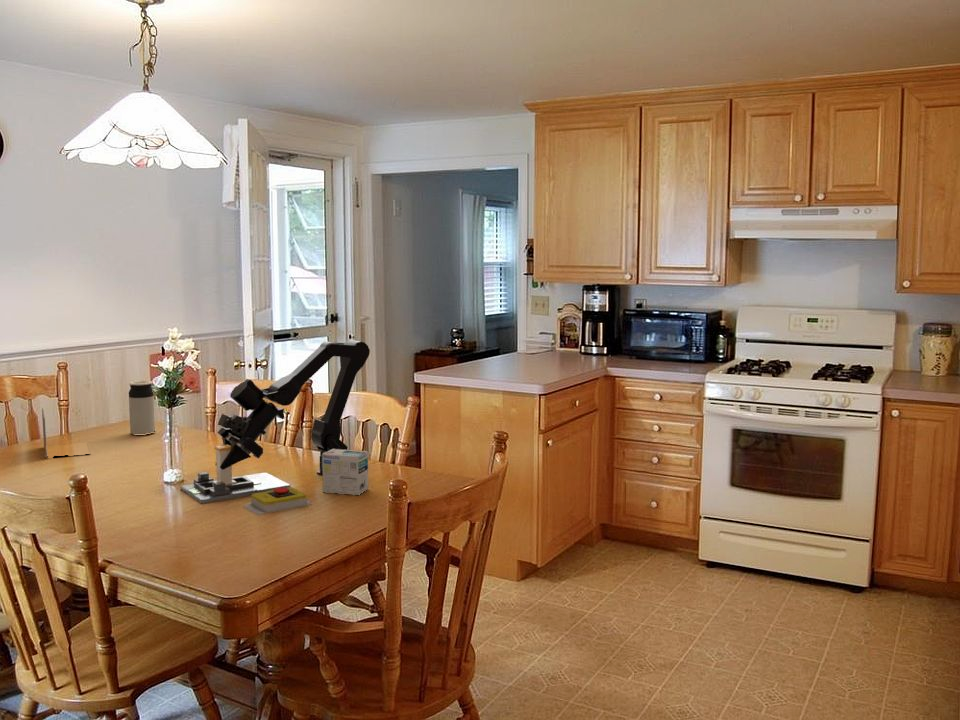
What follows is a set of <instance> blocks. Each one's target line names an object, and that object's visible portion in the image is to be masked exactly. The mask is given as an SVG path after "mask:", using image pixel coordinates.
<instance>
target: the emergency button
mask: <svg viewBox="0 0 960 720" xmlns="http://www.w3.org/2000/svg"><path fill="white" fill-rule="evenodd" d="M250 496H251V502H250V503H248V504H244V505H243V508H245V509H246V510H248V511H250V512H251V513H253V514H255V515H257V516H260V515H265V514H271V513H275V512H280V511H286V510H291V509H296V508H297V509H298V508H301V507H306V506H311V505H313V503H312V502H311V501H309V500H307V494H306V493H304V492H302V491H300V490H299V489H297V488H294V487H292V486H290V487H288V488H284V487H281V488H276V489H274V490H271V491H266V492H260V493H254V494H252V495H250Z"/></svg>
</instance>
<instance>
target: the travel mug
mask: <svg viewBox="0 0 960 720" xmlns="http://www.w3.org/2000/svg"><path fill="white" fill-rule="evenodd" d="M152 384H153V381H151V380H135V381H130V382H128V385H129V386H130V389H129V391H128V407H129V408H128V410H129V429H130V430H129V431H130V433H132V434H146V433H151V432H154V431H155V432H156V423H155V421H156V419H155V400H154V399H155V398H154V397H155V395H154V394H153V392H152V389H153V388H152ZM132 434H131V435H132Z"/></svg>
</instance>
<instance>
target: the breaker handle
mask: <svg viewBox="0 0 960 720" xmlns="http://www.w3.org/2000/svg"><path fill="white" fill-rule="evenodd" d="M214 450H215V461H216V462H215V464H216V465H215V466H216V479H217V481H212V482H213V486H214V483H216V482H224V483H225V485H229V484H235V483H236V481H234V480H233V479H232V477H233V469H232V467H233V465H232V466H230V467H228V468H226V469H224V470H222V469H221V468H220V466H221V464H222V462H223V461H224V459H225V458H226V457H227V455H228V454H229V452H230V451H231V446H230V445H228V444H227V445H223V444H220V445H214Z"/></svg>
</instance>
